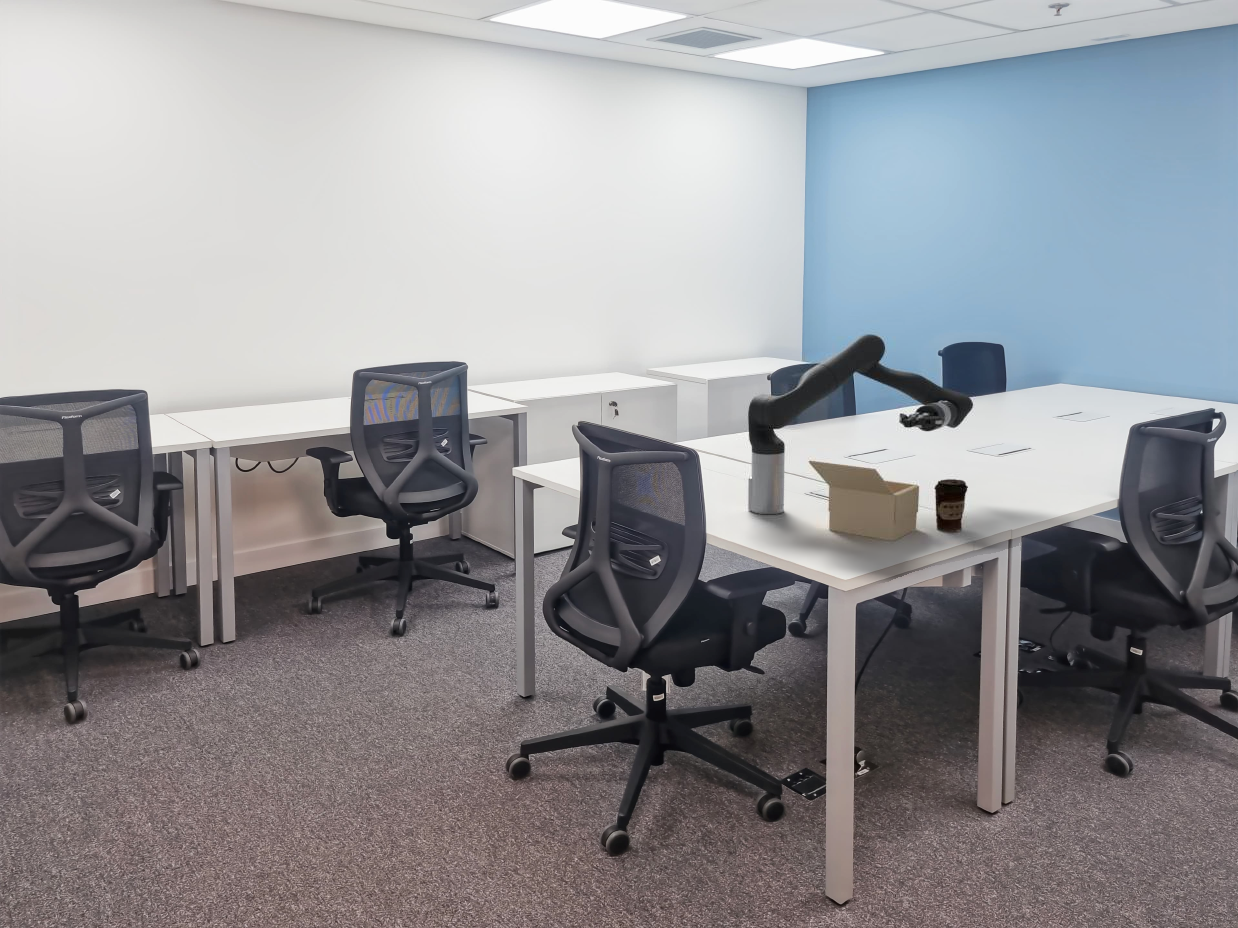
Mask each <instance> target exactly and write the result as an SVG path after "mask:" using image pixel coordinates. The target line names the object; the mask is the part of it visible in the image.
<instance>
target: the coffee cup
mask: <svg viewBox="0 0 1238 928" xmlns="http://www.w3.org/2000/svg"><path fill="white" fill-rule="evenodd" d="M968 488H969V486H968V485H967V483H966V482H965V480H962V479H954V478H953V479H952V478H951V479H950V478H949V479H948V478H947V479H941V480H938V481H937V484H935V486H934V491H935V515H936V519H935V520H936V521H935V522H936V529H937V530H938V531H942V532H960V531H962V530H963V527H962V524H963V523H962V519H963V517H964V516H963V515H964V510H965V506H966V493H967V492H968Z"/></svg>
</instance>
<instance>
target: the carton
mask: <svg viewBox="0 0 1238 928" xmlns="http://www.w3.org/2000/svg"><path fill="white" fill-rule="evenodd" d="M884 481H885V482H886V483H887V485H888V486H889V487H890V489H891V490H892V491H893V492H894V496H893V495H886V494H880V493H873V492H866V491H859V490H852V489H845V488H838V487H831V486H829V485H828V512H829V514H828V517H829V519H828V521H829V522H828V525H829V526H828V530H829V531H833V532H838V533H843V534H850V535H856V536H861V537H862V536H863V537H868V538H873V539H880V540H886V541H892V542H894V541H895V540H897V539H898V540H899V538H902V537H904V536H906V535H908V534H910V533H911V532H914V531H916V530H917V517H918V515H917V513H919V499H920V498H919V497H920V486H919V484H912V483H904V482H899V481H898V482H897V481H891V480H890V481H888V480H884Z"/></svg>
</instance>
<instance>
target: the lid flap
mask: <svg viewBox="0 0 1238 928" xmlns="http://www.w3.org/2000/svg"><path fill="white" fill-rule="evenodd" d="M808 463H809V464H810V466H811V467H812V468H813V470H815V472H817V474H818V475H819V476H820V477H821V478H822V480H824V481H825V483H826V484H827V485H828V487H829V486H831V487H838V488H845V489H852V490H859V491H866V492H873V493H880V494H886V495H893V496H894V492H893V491H892V490H891V489H890V487H889V486H888V485H887V483H886V482H885V481H886V480H885V479H884V478H883V477H882V475H880V473H879V472H878V471H877V469H876V468H871V467H863V466H856V465H855V466H854V465H847V464H841V463H839V464H838V463H831V462H830V463H829V462H823V461H815V460H814V461H813V460H808Z"/></svg>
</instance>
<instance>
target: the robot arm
mask: <svg viewBox="0 0 1238 928" xmlns="http://www.w3.org/2000/svg"><path fill="white" fill-rule="evenodd" d="M885 345H886V344H885V342H884V340H883V339H882V338H881V337H880V336H878V335H876V334H864V335H861V336H859V337H858V338H857V339H855V341H853V342H852V343H850V345H848V346H847V347H846V348H844V349H843V350H841V351H840V352H838V353H836V354H833V355H832V356H830V357H829V358H827V359H825V360H824V361H822V362H820V363H818V364H816V365H815V366H813V367H811V368H810V369H808V370H806V372H803V374H802V375H801V377H800V379H799V381H798V382H797V386H796V388H794V389H793V390H791V391H789V392H787V393H786V394H783V395H778V396H777V395H771V394H764V393H763V394H757V395H755V396H754V397H752V399H751V401H750V403H749V406H748V412H747V413H748V414H747V419H748V420H747V421H748V422H747V423H748V441H749V443H750V446H751V476H750V477H748V486H747V487H748V491H747V492H748V493H747V497H748V503H747V506H748V507H747V510H748V511H751V512H752V513H755V514H760V515H777V514H781V513H783V512H784V510H785V509H784V508H785V507H784V505H785V459H786V458H785V457H786V456H785V454H786V453H785V451H786V449H785V448H786V447H785V445H786V444H785V442H784V441H783V440H782V439H781V438H779V436H778V435H777V434H776V432H775V431H774V430H780V429H782V428H784V427H786V426H787V425H789V424H791V422H793V421H794V420H795V419H797V417H798V416H800V415H801V414H802V413H804V411H806V410H808V409H809V408H811V407H812V406H813V405H816V404H817V403H818V402H821V400H823V399H825V398H827V397H828V396H830V395H831V394H833V393H834V392H836V391H837V390H838V389H839V388H841V387H842V386H843V385H844V384H845V383H846V382H847V381H848V380H849V379H850V378H851V377H852V376H853V375H854V374H855V373H857V374H859V375H861V376H863V377H866V378H868V379H871V380H873V381H875V382H878V383H880V384H883V385H886V386H888V387H890V388H893V389H895V390H897V391H899V392H901V393H903V394H904V395H907V396H909V398H912V399H913V400H915V401H917V402H918V403H920V404H922V405H921V406H920V407H918V408H917V409H916V411H915V412H914V413H910V414H909V415H907V414H905V413H900V414H899V421H898V423H900V424H901V425H903V428H908V429H910V428H917V429H919V430H921V431H922V432H923V431H924V432H932V431H936V430H939V429H941V428H944V427H945V426H946V427H949V428H952V429H955V428H957V427H959V425H961V423H962V422H963V421H964V420H965V419H966V418H967V416H968V415H969V414H970V412H971V411H972V409H973V408H974V402H973V401H972V398H971V397H969V396H968V395H967V394H965V393H961V392H958V391H954V390H952V389H948V388H945V387H942V386H940V385H938V384H936V383H934V381H932V380H930V379H928V378H926V377H924V376H923V375H921V374H917V373H913V372H909V371H903V370H902V371H900V370H895V369H892V368H889V367H887V366H885V365H883V364H881V363H880V361H881V360H882V359H883V358H884V356H885V352H886V346H885Z"/></svg>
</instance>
